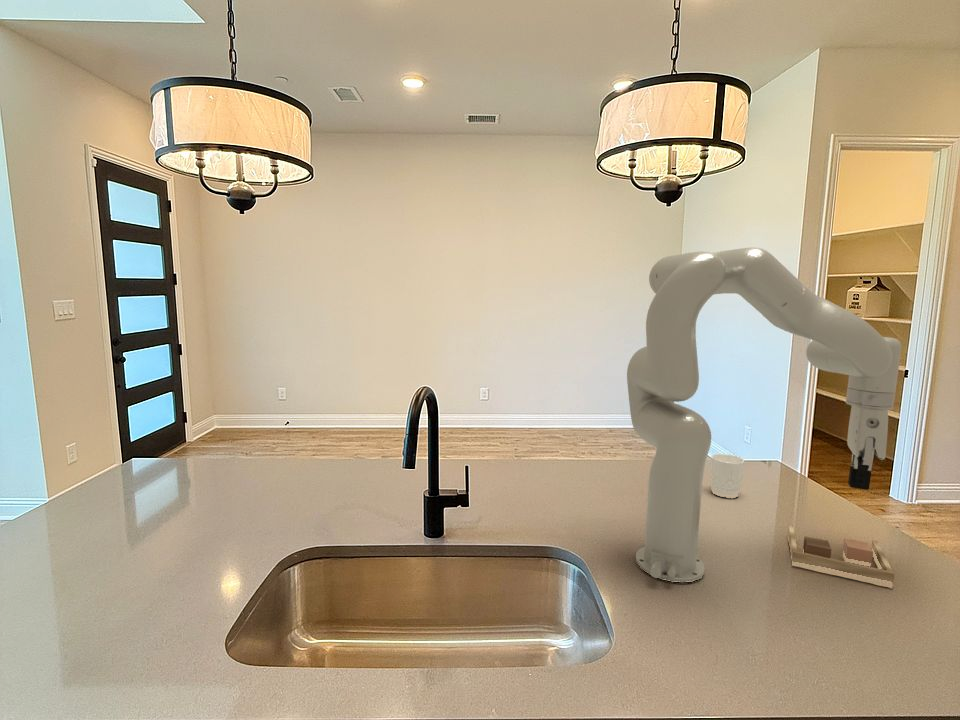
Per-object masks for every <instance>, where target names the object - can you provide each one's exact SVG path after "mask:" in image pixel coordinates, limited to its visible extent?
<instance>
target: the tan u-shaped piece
mask: <svg viewBox="0 0 960 720" xmlns="http://www.w3.org/2000/svg"><path fill="white" fill-rule="evenodd" d="M794 529H795V528H794V525H793V524H790V523H788V525H787V533H788V537H789V544H790V550H791V556H792V561H793V562H799V563H805V564H809V565H815V566H821V567H826V568H831V569H835V570H839V571H843V572H847V573H852V574H857V575H862V576H866V577H871V578H877V579H881V580H887V581H891V582H893V583H894V579H895V572H894V570H893V569H892V566H891V565H890V563H889V560H888V559H887V557H886V555H885V553H884V552H883V550H882V548H881V546H880V544H879V543H878V541H877V540H873V539H872V541H871V546H872V548H873V550H874V552H875V554H876V556H877V559H878V561H879V563H880V565H881V567H882V569H878V568H877V567H872V566H871V567H869V566H864V565H859V564H855V563H850V562H845V561H844V560H839V559H835V558H827V557H822V556H817V555H813V554H808V553H803V551H799V550H798V545H797V541H796V535H795V530H794Z"/></svg>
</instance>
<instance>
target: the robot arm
mask: <svg viewBox="0 0 960 720" xmlns="http://www.w3.org/2000/svg"><path fill="white" fill-rule="evenodd" d="M648 276H649V277H648V282H649V283H648V284H649V286H650V289H651V290H652V291H653V293H655V295H654V297H653V298H652V301H651V303H650V305H649V308H648V310H647V314H646V319H645V335H646V337H645V339H646V340H645V342H646V346H644V347H641V348H639V349H638V350H637V351H635V352H634V353H633V354H632V356H631V358H630V360H629V361H628V362H629V363H628V365H627V369H626V383H627V393H628V403H629V411H630V412H629V413H630V419H631V423H632V427H633V429H634V432H635V433H636V435H637V436H638V437H639V438H640V439H642V440H643V441H644V442H646V443H647V444H648V445H651V446H652V447H654V448H655V456H654V458H653V459H652V462H651V465H650V468H649V472H648V483H647V486H648V487H647V488H648V489H647V499H646V501H647V502H646V503H647V504H646V515H645V518H646V519H645V532H644V533H645V535H644V546H643V547H640V548H639V549H638V550H637V551H636V553H635V563H636V562H637V563H636V565H637V564H638V565H639V566H640V567H641V568H642V569H643V570H644V571H646V572H648V573H649V574H651V577H652V578H655V579H657V578H661V579H666V580H670V581H678V582H679V581H680V582H686V581H693V580H697V579H699V578H701V577H702V576H703V575H705V571H706V569H705V564H704V562H703V561H702V560H701V559H700V558H699V557H698V556H697V554H698V545H699V544H698V543H699V530H700V519H701V507H702V506H701V504H702V493H703V492H702V488H703V481H704V480H703V478H704V472H705V467H706V461H707V460H708V459H707V458H708V454H709V452H710V448H711V445H712V431H711V428H710V425H709V424H708V422H707V420H706V419H705V418H704V417H703V416H702V415H701V414H699V413H698V412H696V411H694V410H692V409H690V408H689V407H685V406H683V405H681V404H678V403H679V402H680V403H681V402H685V401H687V400H689V399H691V398H693V397H694V395H696V392H697V390H698V388H699V380H700V374H699V371H700V370H699V361H698V349H697V339H696V338H697V331H696V330H697V329H696V327H697V320H698V317H699V313H700V312H701V310H702V309H703V307H704V306H705V304H706V303H707V302H708V300H709V299H711V298H712V297H713V296H714V295H721V294H736V295H739V296H741V298H743V300H745V301H746V302H747V303H748V304H749V305H751V306H752V307H753V308H754V309H755V310H756V311H757V312H758V313H760V314H761V315H762V316H763V317H764V318H765V319H766V320H767V321H768V322H769V323H771V324H772V325H773V326H774V327H776V328H777V329H780V330H783V331H785V332H788V333H790V334H792V335H795V336H798V337H802V338H805V339H809V340H810V342H809V343H808V345H807V348H806V352H805V353H806V358H807V360H808V362H809V363H810V364H811V365H812V366H813V367H814V368H815V369H818V370H821V371H823V372H828V373H829V372H830V373H834V374H838V375H839V374H841V375H847V376H848V381H847V382H848V383H847V390H846V397H845V404H846V405H849V406H851V408H850V415H849V421H848V427H847V428H848V430H847V441H846V443H847V444H846V445H847V447H848V448H849V449H850V451H851V461H850V466H849V474H848V479H847V480H848V481H847V484H848V485H849V487H850V488H853V489H859V490H865V491H868V490H869V489H870V484H871V478H872V476H871V475H872V466H873V462H874V461H873V460H874V455H875V456H876V457H877V458H878V460H880V461H883V460H885V459H886V456H887V455H886V454H887V445H888V431H889V411H891V410H894V405H895V399H896V390H897V383H898V377H899V376H898V375H899V368H900V363H901V362H900V361H901V355H902V354H901V353H902V343H901V341H900V340H899V339H897V338H895V337H891V336H890V337H887V336H882V335H881V334H880V333H879V332H878V331H877V330H876V329H875V328H874V327H873V325H871V324H870V323H868V322H867V321H866V320H864V319H863V318H862V317H860V316H858V315H857V314H855V313H853V312H851V311H849V310H848V309H845V308H843V307H841V306H840V305H838V304H835V303H833V302H832V301H831V300H828V299H826V298H824V297H821V296H820V295H817V294H815V293H814V292H813V291H811V290H810V289H809V288H808V287H807V286H806V285H805V284H804V283H803V282H801V280H799V278H797V276H795V275H794V274H793V273H792V272H791V271H790V270H788V268H787V267H786V266H784V265H783V264H782V263H781V262H780V260H778V259H777V258H776V257H775V256H773V255H772V254H771V253H770V252H769V251H768V250H766V249H763V248H762V247H761V248H760V247H753V246H751V247H743V248H736V249H728V250H723V251H715V252H714V251H713V252H710V251H693V252H692V251H691V252H686V253H681V254H673V255H668V256H665V257H662V258H661V259H659V260H657V262H655V264H654V265H653V266H652V267H651V269H650V272H649V275H648ZM675 402H676V403H675ZM638 565H637V566H638ZM639 566H638V567H639ZM640 567H639V568H640ZM641 568H640V569H641ZM642 569H641V570H642ZM643 570H642V571H643ZM644 571H643V572H644ZM649 574H648V575H649ZM703 577H704V576H703ZM703 577H702V578H703ZM702 578H701V579H702Z"/></svg>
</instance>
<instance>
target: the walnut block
mask: <svg viewBox="0 0 960 720" xmlns="http://www.w3.org/2000/svg"><path fill="white" fill-rule="evenodd" d="M803 549H804V553H808V554H813V555H817V556H822V557H827V558H831V557H832V547H831V545H830V542H829V540H826V539H821V538H817V537H810V536H804V538H803V546H802V550H803ZM831 559H832V558H831Z"/></svg>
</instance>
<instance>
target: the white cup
mask: <svg viewBox="0 0 960 720" xmlns="http://www.w3.org/2000/svg"><path fill="white" fill-rule="evenodd" d="M710 457H711V458H710V486H711V489H712V490H713V491H714V492H717V493H720V494H725V495H735V494H738V493H739V494H740V490H741V486H742V480H743V473H744V465H745V460H744V459H743V458H742V457H740V456H737V455H733V454H726V453H714V454H712V455H711V456H710ZM711 489H710V490H711Z"/></svg>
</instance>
